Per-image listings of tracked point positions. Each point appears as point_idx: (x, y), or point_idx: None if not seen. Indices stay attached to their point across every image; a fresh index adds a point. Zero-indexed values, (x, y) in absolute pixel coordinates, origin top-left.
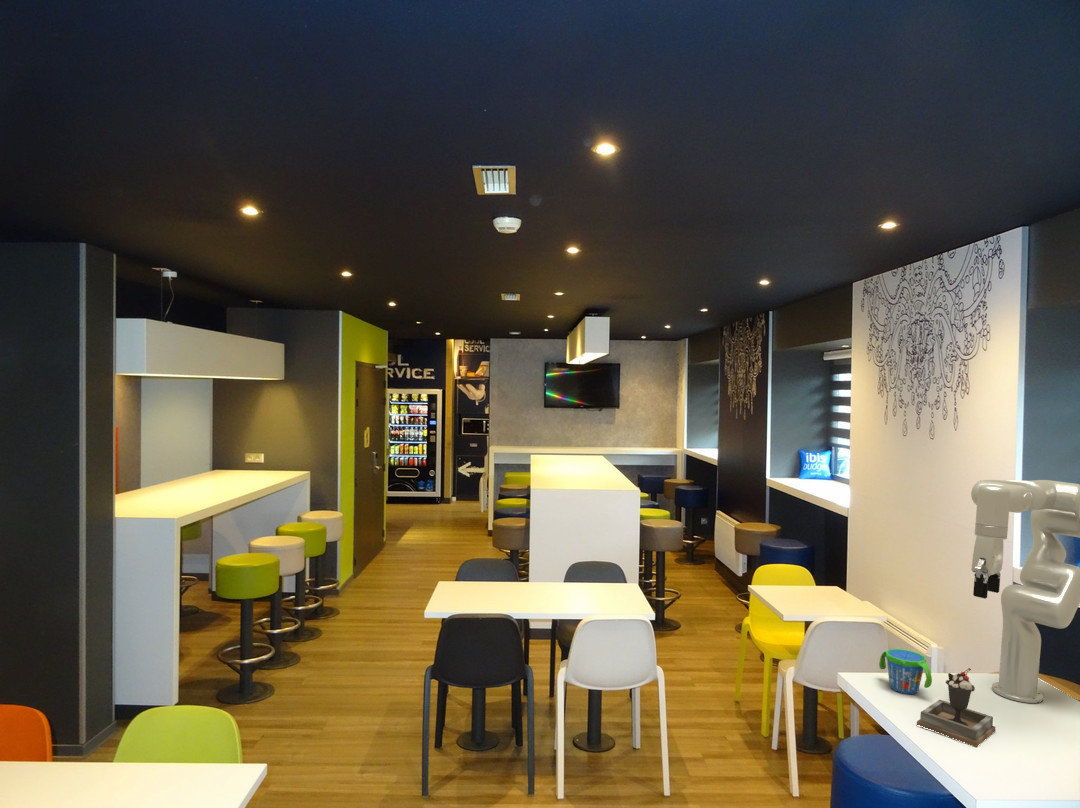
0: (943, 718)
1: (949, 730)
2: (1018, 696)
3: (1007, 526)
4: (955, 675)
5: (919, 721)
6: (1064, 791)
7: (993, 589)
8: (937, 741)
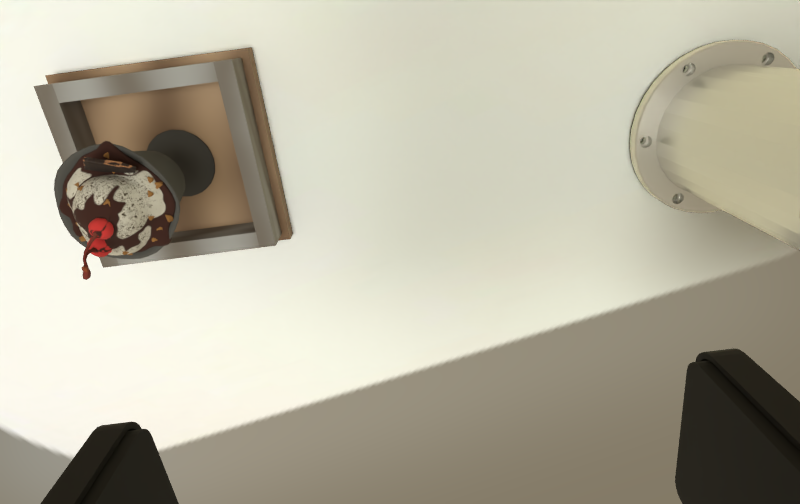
0: None
1: None
2: (652, 162)
3: None
4: (76, 201)
5: (54, 81)
6: None
7: (699, 472)
8: (29, 175)
